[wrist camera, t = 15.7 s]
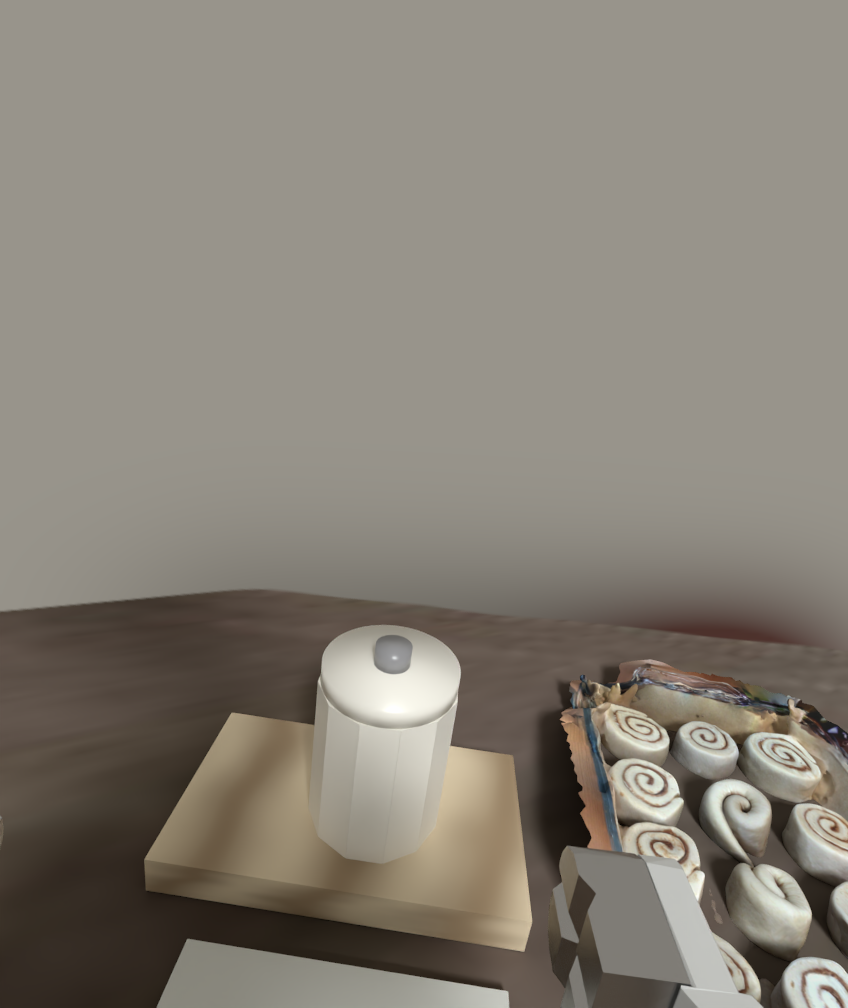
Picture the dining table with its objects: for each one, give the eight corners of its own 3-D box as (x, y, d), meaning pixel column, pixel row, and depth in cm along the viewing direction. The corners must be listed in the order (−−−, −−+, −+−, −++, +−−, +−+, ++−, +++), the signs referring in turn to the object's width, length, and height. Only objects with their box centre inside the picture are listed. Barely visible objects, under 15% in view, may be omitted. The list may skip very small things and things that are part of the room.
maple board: (145, 890, 26) (144, 859, 25) (231, 737, 35) (231, 712, 34) (523, 951, 25) (532, 921, 25) (507, 780, 35) (512, 755, 34)
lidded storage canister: (294, 850, 26) (306, 678, 23) (327, 746, 33) (339, 601, 30) (433, 871, 26) (464, 701, 23) (438, 763, 33) (463, 619, 29)
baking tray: (529, 672, 47) (540, 617, 46) (785, 712, 46) (805, 657, 44) (605, 1186, 19) (642, 1091, 17) (1280, 1327, 18) (1392, 1240, 16)
